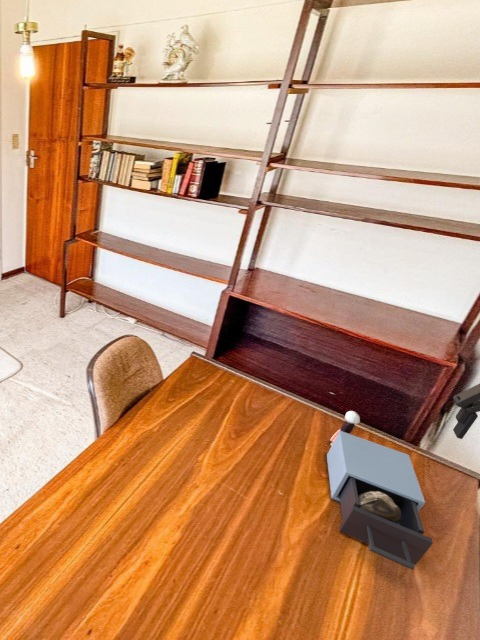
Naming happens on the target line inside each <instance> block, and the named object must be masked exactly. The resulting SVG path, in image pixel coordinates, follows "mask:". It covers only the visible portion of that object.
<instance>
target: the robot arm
mask: <svg viewBox="0 0 480 640" xmlns="http://www.w3.org/2000/svg"><path fill="white" fill-rule="evenodd" d="M452 399H453V402H454V403H455V405H456V406H457V408H459V410H458V412H457V413H456V415H455V419H456V421H457V423H456V424H455V426H454V427H453V429H452V431H453V433H454V436H455V437H456V438H457V439H459V440H463V439H464V437H465V436H466V435H467V433H468V431H469V430H470V429H471V427H472V426H473V425H474V423H475V421H476V420H477V419H478V417H479V415H478V414H477V413H479V412H480V383H478V384H476V385H473V386H472V387H470V388H468V389H466V390H463V391H462V392H459V393H457V394H455V395H454V396H452Z"/></svg>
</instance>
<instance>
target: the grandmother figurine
mask: <svg viewBox="0 0 480 640" xmlns="http://www.w3.org/2000/svg"><path fill="white" fill-rule="evenodd" d="M360 419H361V417H360V415H359V414H358V413H357V412H356V411H353V410H349V411H347V412H346V413H345V416H344V420H345V421H344V422H343V423H342V425H341V426H340V428H339V429H338V430H337V431H336V432H335V433H334V434H333V435H332V436H331V438H329V441H330V442H331V443H330V444H329V445H330V447H331V446H332V444H333V442H334V440H335V439H336V437H337V435H338V433H339V431H342V432H345V433H348V434H351V433H352V432H353V431H354V430H355V424H356V425H357V424H359V423H360V422H361V420H360Z"/></svg>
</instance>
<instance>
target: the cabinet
mask: <svg viewBox="0 0 480 640" xmlns="http://www.w3.org/2000/svg"><path fill="white" fill-rule="evenodd" d="M326 461H327V470H328V478H329V488H330V497H331V499H332V500H335V501H337V502H339V503H340V497H339V492H340V490H341V489H342V487H343V485H344V483H345V482H346V480H347V478H348V476H351V477H354V478H356V479H359V480H361V481H364V482H366V483H369V484H372V485H374V486H377V487H379V488H382V489H384V490H387V491H389V492H392V493H395V494H397V495H400V496H402V497H405V498H407V499H410V500H412V501H415V503H416V506H417V509H418V512H419V513H420V511H421V510H422V508H423V507H424V505H425V504H426V500H425V497H424V494H423V492H422V489H421V486H420V483H419V479H418V477H417V474H416V471H415V468H414V465H413V463H412V460H411V457H410V455H409V454H407V453H404V452H402V451H399V450H397V449H393V448H391V447H389V446H388V447H387V446H385V445H382V444H379V443H376V442H373V441H370V440H367V439H365V438H362V437H360V436H356V435H353V434H351V433H350V434H348V433H345V432H342V431H339V433H338V435H337V437H336V439H335V440H334V442H333V444H332V446H331V445H330V448H329V450H328V451H327V454H326Z"/></svg>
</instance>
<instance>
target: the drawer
mask: <svg viewBox="0 0 480 640" xmlns="http://www.w3.org/2000/svg"><path fill="white" fill-rule="evenodd" d="M370 491H378V492H382V493H384V494H386V495H388V496H389V497H390V498H391V499H392V500H393V501H394V503H395V505H396V506H398V507H399V509H400V511H401V519H400V520H399V521H398V522H395V523H394V522H391V521H389V520H387V519H384V518H382V517H379V516H377V515H375V514H372V513H370V512H367V511H365V510H363V509H360V508H358V506H359V499H358V496H359V495H361V494H363V493H365V492H370ZM339 497H340V502H339V504H340V512H341V520H342V522H341V524H340V525H339V532H340V533H343V534H345V535H347V536H349V537H351V538H354V539H356V540H358V541H360V542H363V543H365V544H367V545H368V551H369V552H372V553H374V554H376V555H379V556H381V557H383V558H385V559H387V560H390V561H392V562H394V563H396V564H398V565H400V566H403V567H405V568H407V569H409V570H411V571H413V570H415V566H416V565H417V564H418V563H419V561H421V559H422V558H423V556H424V555H425V554H426V553H427V552H428V550H429V549H430V548H431V546H432V545H433V544H434V542H433V541H434V540H433V539H432V537H429V536H427V535H425V534H424V533H425V532H426V531H425V528H424V525H423V522H422V519H421V515H420V511H419V512H418V509H417V506H416V503H415V501H412V500H410V499H407V498H405V497H402V496H400V495H397V494H395V493H392V492H389V491H387V490H384V489H382V488H379V487H377V486H374V485H372V484H369V483H366V482H364V481H361V480H359V479H356V478H354V477H351V476H348V478H347V480H346V482H345V483H344V485H343V487H342V489H341V490H340V492H339Z"/></svg>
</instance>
